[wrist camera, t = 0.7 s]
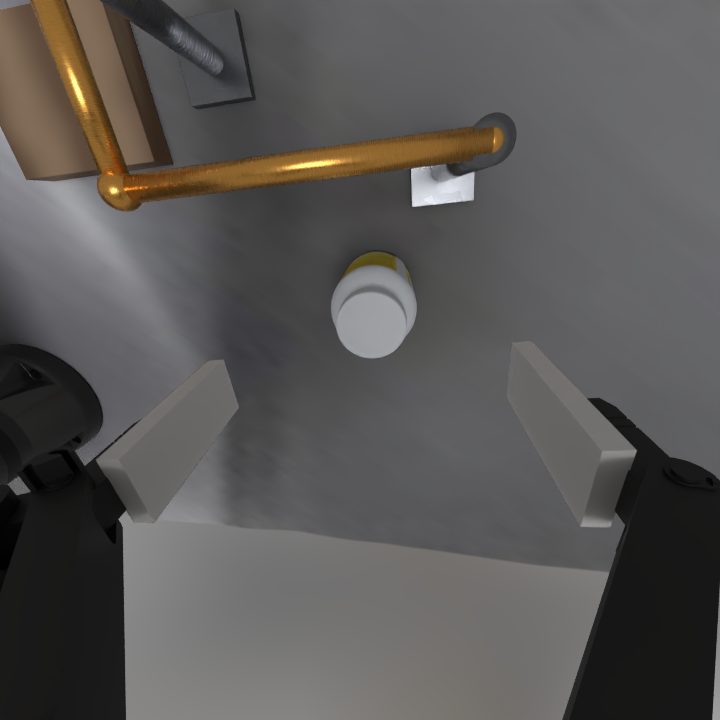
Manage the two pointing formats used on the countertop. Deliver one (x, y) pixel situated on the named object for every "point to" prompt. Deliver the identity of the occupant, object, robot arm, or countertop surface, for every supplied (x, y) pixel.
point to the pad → (51, 103)
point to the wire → (234, 84)
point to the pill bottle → (374, 305)
